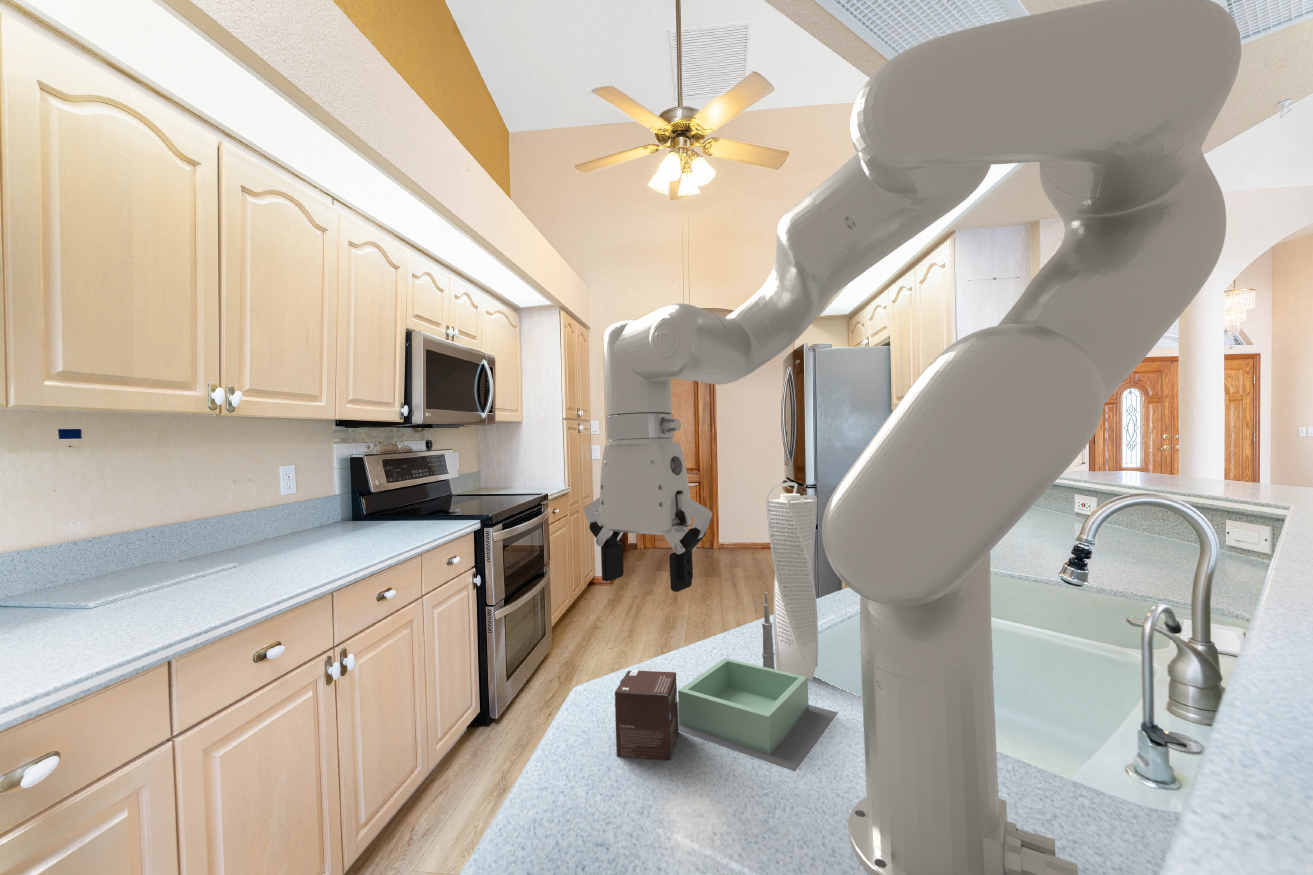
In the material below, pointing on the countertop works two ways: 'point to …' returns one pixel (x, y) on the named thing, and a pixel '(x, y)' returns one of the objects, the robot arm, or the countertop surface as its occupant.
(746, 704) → the crate
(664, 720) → the box
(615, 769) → the countertop surface
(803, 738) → the mat
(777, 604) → the skyscraper
